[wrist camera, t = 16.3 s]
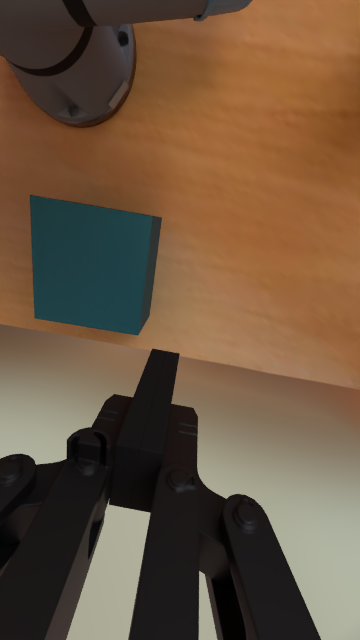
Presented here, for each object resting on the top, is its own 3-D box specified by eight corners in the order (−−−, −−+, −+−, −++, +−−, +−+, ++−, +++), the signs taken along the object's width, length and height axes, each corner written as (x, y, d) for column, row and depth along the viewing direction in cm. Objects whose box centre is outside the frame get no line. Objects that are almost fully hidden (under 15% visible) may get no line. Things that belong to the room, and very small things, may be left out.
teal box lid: (37, 316, 37) (34, 318, 36) (33, 195, 31) (29, 194, 31) (139, 333, 37) (138, 335, 36) (153, 216, 31) (152, 216, 31)
